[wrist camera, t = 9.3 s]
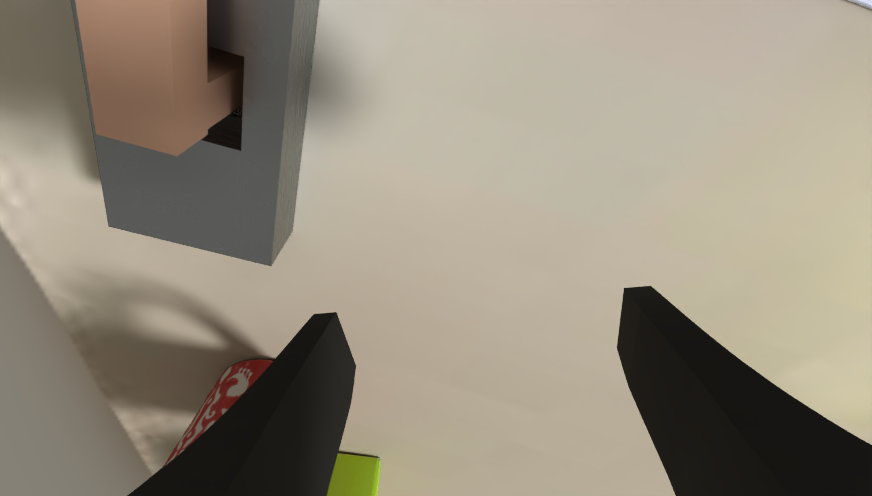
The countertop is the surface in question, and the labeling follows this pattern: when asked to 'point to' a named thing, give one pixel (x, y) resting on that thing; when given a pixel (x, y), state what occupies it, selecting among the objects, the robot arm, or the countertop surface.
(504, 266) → the countertop surface
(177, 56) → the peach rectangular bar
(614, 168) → the countertop surface
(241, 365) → the mug
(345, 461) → the box
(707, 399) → the robot arm
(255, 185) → the gray slotted board
